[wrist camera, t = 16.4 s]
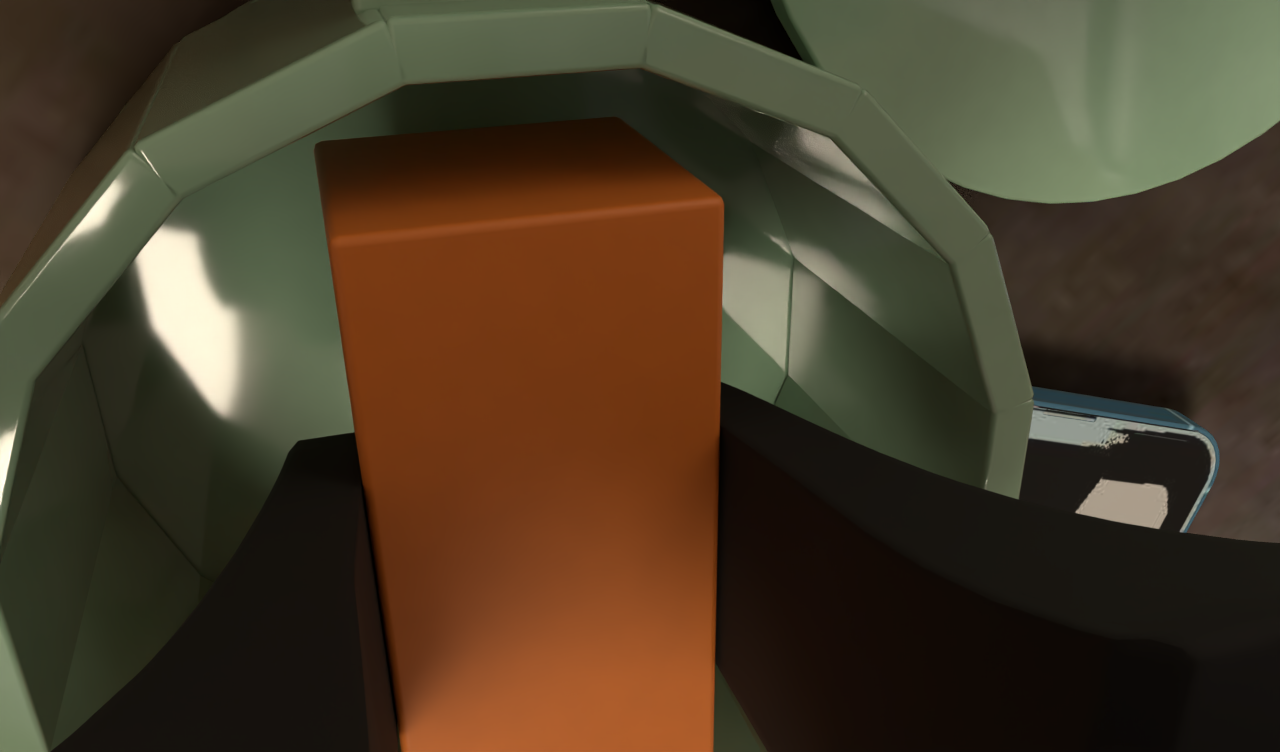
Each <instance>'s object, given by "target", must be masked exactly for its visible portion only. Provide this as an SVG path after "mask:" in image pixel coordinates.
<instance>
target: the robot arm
mask: <svg viewBox="0 0 1280 752" xmlns="http://www.w3.org/2000/svg"><path fill="white" fill-rule="evenodd" d="M715 663H716V665H717V666H718V668H719V670H720V672H721V673H722V675H723V677H724V678H725V680H726V682H727V684H728V685H729V687H730V689H731V690H732V692H733V694H734V695H735V697H736V699H737V701H738V702H739V704H740V706H741V707H742V709H743V711H744V712H745V714H746V716H747V718H748V719H749V721H750V723H751V724H752V726H753V728H754V729H755V731H756V733H757V735H758V736H759V738H760V740H761V741H762V743H763V745H764V747H765V748H766V750H767V752H1280V543H1269V542H1255V541H1245V540H1236V539H1228V538H1221V537H1213V536H1206V535H1198V534H1191V533H1183V532H1176V531H1168V530H1162V529H1156V528H1150V527H1144V526H1138V525H1132V524H1127V523H1121V522H1116V521H1111V520H1106V519H1102V518H1097V517H1092V516H1087V515H1083V514H1078V513H1073V512H1069V511H1064V510H1059V509H1055V508H1051V507H1047V506H1043V505H1039V504H1035V503H1031V502H1027V501H1023V500H1019V499H1015V498H1012V497H1009V496H1005V495H1002V494H998V493H995V492H992V491H988V490H985V489H982V488H978V487H975V486H972V485H968V484H965V483H962V482H958V481H955V480H953V479H950V478H947V477H944V476H941V475H938V474H935V473H932V472H929V471H927V470H924V469H921V468H919V467H916V466H914V465H911V464H908V463H906V462H903V461H901V460H898V459H896V458H893V457H890V456H888V455H885V454H883V453H880V452H878V451H875V450H873V449H871V448H868V447H866V446H864V445H861V444H859V443H856V442H854V441H852V440H849V439H847V438H845V437H843V436H840V435H838V434H836V433H834V432H831V431H829V430H827V429H825V428H823V427H820V426H818V425H816V424H814V423H812V422H810V421H807V420H805V419H803V418H801V417H799V416H797V415H795V414H792V413H790V412H788V411H786V410H784V409H782V408H780V407H778V406H775V405H773V404H771V403H769V402H767V401H765V400H763V399H760V398H758V397H756V396H754V395H752V394H749V393H747V392H745V391H743V390H740V389H738V388H736V387H733V386H731V385H728V384H726V383H723V382H721V394H720V444H719V495H718V545H717V595H716V646H715ZM50 752H398V731H397V717H396V710H395V703H394V696H393V689H392V682H391V675H390V669H389V662H388V655H387V648H386V641H385V634H384V628H383V621H382V614H381V607H380V600H379V593H378V587H377V580H376V573H375V566H374V559H373V552H372V545H371V539H370V532H369V525H368V518H367V511H366V504H365V498H364V491H363V484H362V477H361V470H360V464H359V457H358V450H357V444H356V437H355V432H352V433H346V434H339V435H332V436H326V437H319V438H312V439H306V440H299V441H297V443H296V444H295V445H294V446H293V447H292V448H291V450H290V451H289V452H288V454H287V457H286V460H285V462H284V464H283V467H282V469H281V471H280V474H279V476H278V478H277V480H276V482H275V484H274V486H273V488H272V490H271V492H270V494H269V496H268V497H267V499H266V501H265V503H264V505H263V507H262V509H261V510H260V512H259V514H258V515H257V517H256V519H255V520H254V522H253V524H252V525H251V527H250V529H249V530H248V532H247V534H246V535H245V537H244V539H243V540H242V542H241V544H240V545H239V547H238V549H237V550H236V552H235V553H234V555H233V556H232V558H231V559H230V561H229V562H228V563H227V565H226V566H225V568H224V569H223V570H222V572H221V573H220V575H219V576H218V577H217V579H216V580H215V582H214V583H213V584H212V586H211V587H210V589H209V590H208V592H207V593H206V594H205V596H204V597H203V599H202V600H201V601H200V603H199V604H198V605H197V607H196V608H195V609H194V610H193V612H192V613H191V614H190V615H189V617H188V618H187V619H186V620H185V622H184V623H183V624H182V625H181V627H180V628H179V629H178V630H177V631H176V632H175V634H174V635H173V636H172V637H171V638H170V640H169V641H168V642H167V643H166V644H165V645H164V646H163V647H162V649H161V650H160V651H159V652H158V653H157V654H156V655H155V656H154V657H153V658H152V660H151V661H150V662H149V663H148V664H147V665H146V666H145V667H144V668H143V669H142V670H141V671H140V672H139V673H138V674H137V675H136V676H135V677H134V678H133V679H132V680H130V681H129V682H128V683H127V684H126V685H125V686H124V687H123V688H122V689H121V690H120V691H118V692H117V693H116V694H115V695H114V696H113V697H112V698H111V699H110V700H109V701H108V702H106V703H105V704H104V705H103V706H102V707H101V708H100V709H99V710H98V711H97V712H96V713H94V714H93V715H92V716H91V717H90V718H89V719H88V720H87V721H86V722H85V723H84V724H82V725H81V726H80V727H79V728H78V729H77V730H76V731H75V732H74V733H72V734H71V735H70V736H69V737H68V738H66V739H65V740H64V741H63V742H62V743H60V744H59V745H58V746H57V747H55V748H54V749H53V750H52V751H50Z"/></svg>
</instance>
